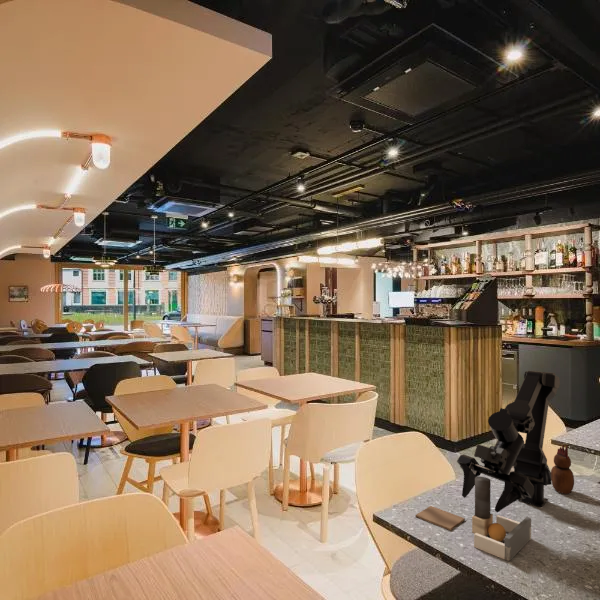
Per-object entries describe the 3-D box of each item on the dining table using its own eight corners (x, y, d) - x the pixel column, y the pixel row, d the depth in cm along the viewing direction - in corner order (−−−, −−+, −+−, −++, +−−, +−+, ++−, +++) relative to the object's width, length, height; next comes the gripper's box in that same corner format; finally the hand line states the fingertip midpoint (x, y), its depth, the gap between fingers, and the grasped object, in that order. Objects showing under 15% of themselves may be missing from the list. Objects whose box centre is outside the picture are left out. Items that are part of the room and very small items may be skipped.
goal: (497, 526, 113) (497, 507, 113) (531, 538, 108) (531, 518, 108) (474, 547, 104) (474, 525, 104) (509, 561, 98) (509, 538, 98)
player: (479, 525, 112) (479, 474, 112) (493, 530, 110) (494, 478, 110) (471, 532, 109) (471, 479, 109) (485, 538, 106) (485, 484, 106)
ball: (510, 527, 106) (505, 541, 107) (494, 517, 109) (490, 530, 110) (504, 533, 104) (499, 547, 104) (488, 522, 106) (483, 536, 107)
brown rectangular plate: (430, 507, 124) (430, 505, 124) (464, 520, 117) (464, 518, 117) (415, 516, 118) (415, 514, 118) (450, 530, 111) (450, 528, 111)
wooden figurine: (577, 496, 132) (577, 446, 132) (556, 495, 133) (556, 445, 133) (568, 487, 138) (568, 440, 138) (548, 486, 139) (548, 438, 140)
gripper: (461, 424, 120) (433, 472, 114) (527, 442, 104) (499, 500, 98) (479, 448, 124) (453, 496, 118) (546, 469, 108) (520, 526, 102)
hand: (479, 503), depth 109 cm, fingers open, 9 cm apart
